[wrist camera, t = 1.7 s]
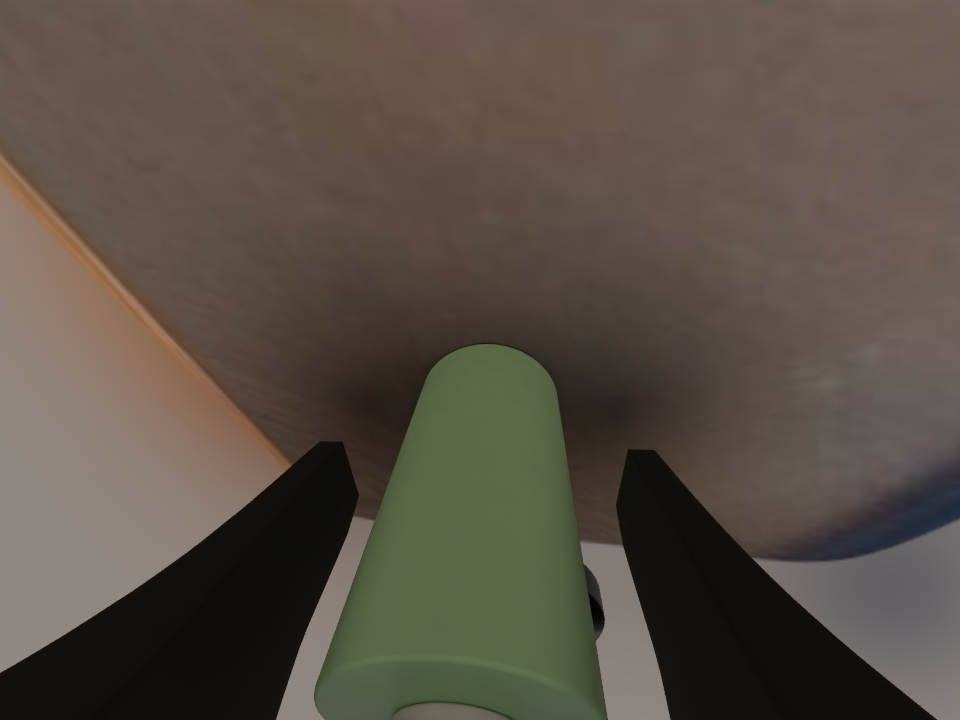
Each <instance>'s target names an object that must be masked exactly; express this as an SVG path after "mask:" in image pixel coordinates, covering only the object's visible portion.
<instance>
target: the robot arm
mask: <svg viewBox="0 0 960 720" xmlns="http://www.w3.org/2000/svg"><path fill="white" fill-rule="evenodd" d="M358 497H359V494H358V491H357V487H356V484H355V481H354V478H353V474H352V471H351V468H350V464H349V461H348V458H347V455H346V451H345V448H344V445H343V442H324V441H320V442H319V443H318V444H317V445H315V446H314V447H313V448H312V449H311V450H309V451H308V452H307V453H306V454H305V455H304V456H303V457H301V458H300V459H299V460H298V461H297V462H296V463H295V464H293V465H292V466H291V467H290V468H289V469H288V470H287V471H286V472H284V473H283V474H282V475H281V476H280V477H279V478H278V479H276V480H275V481H274V482H273V483H272V484H271V485H270V486H268V487H267V488H266V489H265V490H264V491H263V492H261V493H260V494H259V495H258V496H257V497H256V498H254V500H252V501H251V502H250V503H249V504H247V505H246V506H245V507H244V508H243V509H241V510H240V511H239V512H238V513H236V514H235V515H234V516H233V517H232V518H230V519H229V520H228V521H226V522H225V523H224V524H223V525H221V526H220V527H219V528H218V529H217V530H215V531H214V532H213V533H212V534H210V535H209V536H208V537H206V538H205V539H204V540H203V541H201V542H200V543H199V544H198V545H196V546H195V547H194V548H192V549H191V550H190V551H188V552H187V553H186V554H184V555H183V556H182V557H180V558H179V559H177V560H176V561H175V562H173V563H172V564H171V565H169V566H168V567H166V568H165V569H164V570H162V571H161V572H159V573H158V574H157V575H155V576H154V577H152V578H151V579H149V580H148V581H147V582H145V583H144V584H142V585H141V586H139V587H138V588H136V589H135V590H134V591H132V592H130V593H129V594H127V595H126V596H125V597H123V598H121V599H120V600H118V601H117V602H115V603H114V604H112V605H110V606H109V607H107V608H106V609H104V610H103V611H101V612H100V613H98V614H97V615H95V616H93V617H92V618H90V619H89V620H87V621H86V622H84V623H82V624H81V625H79V626H78V627H76V628H75V629H73V630H72V631H70V632H68V633H67V634H65V635H64V636H62V637H60V638H59V639H57V640H55V641H54V642H52V643H50V644H49V645H47V646H45V647H44V648H42V649H41V650H39V651H37V652H35V653H34V654H32V655H30V656H29V657H27V658H25V659H24V660H22V661H20V662H19V663H17V664H15V665H13V666H12V667H10V668H8V669H6V670H5V671H3V672H1V673H0V720H276V718H277V715H278V711H279V708H280V705H281V702H282V698H283V696H284V692H285V690H286V687H287V684H288V680H289V678H290V675H291V671H292V669H293V666H294V663H295V660H296V657H297V654H298V651H299V648H300V645H301V643H302V640H303V638H304V635H305V632H306V630H307V627H308V625H309V623H310V620H311V618H312V616H313V613H314V611H315V609H316V606H317V604H318V602H319V599H320V597H321V595H322V592H323V590H324V588H325V586H326V583H327V581H328V579H329V576H330V574H331V572H332V569H333V567H334V565H335V562H336V560H337V558H338V555H339V553H340V550H341V548H342V546H343V543H344V541H345V538H346V536H347V534H348V531H349V528H350V524H351V521H352V518H353V514H354V511H355V507H356V504H357V500H358ZM616 508H617V514H618V520H619V526H620V531H621V536H622V541H623V547H624V550H625V554H626V557H627V561H628V564H629V567H630V571H631V574H632V577H633V580H634V584H635V587H636V591H637V594H638V597H639V601H640V604H641V607H642V611H643V614H644V617H645V620H646V624H647V627H648V630H649V634H650V637H651V640H652V644H653V647H654V650H655V654H656V658H657V662H658V665H659V669H660V673H661V677H662V682H663V686H664V691H665V695H666V700H667V705H668V710H669V714H670V719H671V720H937V719H936V718H934V717H933V716H932V715H930V714H929V713H928V712H927V711H925V710H924V709H923V708H921V706H919V705H918V704H917V703H915V702H914V701H913V700H912V699H911V698H909V697H908V696H907V695H906V694H905V693H903V692H902V691H901V690H899V689H898V688H897V687H896V686H895V685H893V684H892V683H891V682H890V681H888V680H887V679H886V678H885V677H883V676H882V675H881V674H880V673H879V672H877V671H876V670H875V669H874V668H872V667H871V666H870V665H869V664H868V663H866V662H865V661H864V660H863V659H861V658H860V657H859V656H858V655H857V654H856V653H854V652H853V651H852V650H851V649H850V648H849V647H847V646H846V645H845V644H844V643H843V642H841V641H840V640H839V639H838V638H837V637H836V636H834V635H833V634H832V633H831V632H830V631H829V630H828V629H827V628H826V627H824V626H823V625H822V624H821V623H820V622H819V621H818V620H817V619H815V618H814V617H813V616H812V615H811V614H810V613H809V612H808V611H807V610H805V609H804V608H803V607H802V606H801V605H800V604H799V603H797V601H795V600H794V599H793V598H792V597H791V596H790V595H789V594H788V593H787V592H786V591H785V590H784V589H783V588H782V587H781V586H780V585H779V584H778V583H776V582H775V581H774V580H773V579H772V578H771V577H770V576H769V575H768V574H767V573H766V572H765V571H764V570H763V569H762V568H761V567H760V566H759V565H758V564H757V563H756V562H755V561H754V560H753V559H752V558H751V557H750V556H749V555H748V554H747V553H746V552H745V551H744V550H743V549H742V548H741V547H740V546H739V544H738V543H737V542H736V541H735V540H734V539H733V538H732V537H731V536H730V535H729V534H728V533H727V532H726V531H725V530H724V529H723V527H722V526H721V525H720V524H719V523H718V522H717V521H716V520H715V519H714V518H713V517H712V516H711V515H710V513H709V512H708V511H707V510H706V509H705V508H704V507H703V506H702V505H701V503H700V502H699V501H698V500H697V499H696V498H695V497H694V496H693V494H692V493H691V492H690V491H689V490H688V489H687V487H686V486H685V485H684V484H683V483H682V482H681V481H680V479H679V478H678V477H677V476H676V475H675V474H674V472H673V471H672V470H671V469H670V468H669V466H668V465H667V464H666V463H665V462H664V461H663V459H662V458H661V457H660V456H659V455H658V454H657V453H656V452H655V451H654V450H631V449H628V452H627V457H626V461H625V466H624V470H623V475H622V480H621V484H620V489H619V494H618V498H617V503H616Z"/></svg>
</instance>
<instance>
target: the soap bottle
mask: <svg viewBox="0 0 960 720" xmlns="http://www.w3.org/2000/svg"><path fill="white" fill-rule="evenodd" d="M314 701H315V706H316V708H317V709H318V711H319V713H320V714H321V715H322V717H323V718H324V719H325V720H608V718H607V712H606V705H605V699H604V693H603V686H602V680H601V673H600V667H599V661H598V654H597V648H596V641H595V635H594V628H593V622H592V615H591V609H590V603H589V596H588V590H587V583H586V577H585V571H584V564H583V558H582V552H581V545H580V539H579V532H578V526H577V519H576V513H575V507H574V500H573V494H572V487H571V481H570V474H569V468H568V462H567V455H566V449H565V442H564V436H563V430H562V423H561V417H560V410H559V404H558V398H557V392H556V388H555V385H554V382H553V380H552V379H551V377H550V375H549V374H548V372H547V371H546V370H545V369H544V367H543V366H542V365H541V364H540V363H538V362H537V361H536V360H535V359H533V358H532V357H530V356H529V355H527V354H525V353H523V352H521V351H519V350H517V349H514V348H510V347H507V346H502V345H496V344H478V345H472V346H467V347H464V348H461V349H458V350H456V351H454V352H452V353H450V354H448V355H447V356H445V357H444V358H442V359H441V360H440V361H439V362H437V364H436V365H435V366H434V367H433V368H432V369H431V371H430V373H429V374H428V376H427V378H426V380H425V383H424V386H423V389H422V391H421V394H420V397H419V400H418V402H417V405H416V408H415V411H414V414H413V416H412V419H411V422H410V425H409V427H408V430H407V433H406V436H405V439H404V441H403V444H402V447H401V450H400V452H399V455H398V458H397V461H396V464H395V466H394V469H393V472H392V475H391V477H390V480H389V483H388V486H387V489H386V491H385V494H384V497H383V500H382V503H381V505H380V508H379V511H378V514H377V516H376V519H375V522H374V525H373V528H372V530H371V533H370V536H369V539H368V541H367V544H366V547H365V550H364V553H363V555H362V558H361V561H360V564H359V566H358V570H357V572H356V575H355V578H354V580H353V583H352V586H351V589H350V592H349V594H348V597H347V600H346V603H345V606H344V608H343V611H342V614H341V616H340V619H339V622H338V625H337V628H336V631H335V633H334V636H333V639H332V642H331V644H330V647H329V650H328V653H327V655H326V658H325V661H324V664H323V667H322V669H321V672H320V675H319V678H318V680H317V683H316V686H315V692H314Z"/></svg>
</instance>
